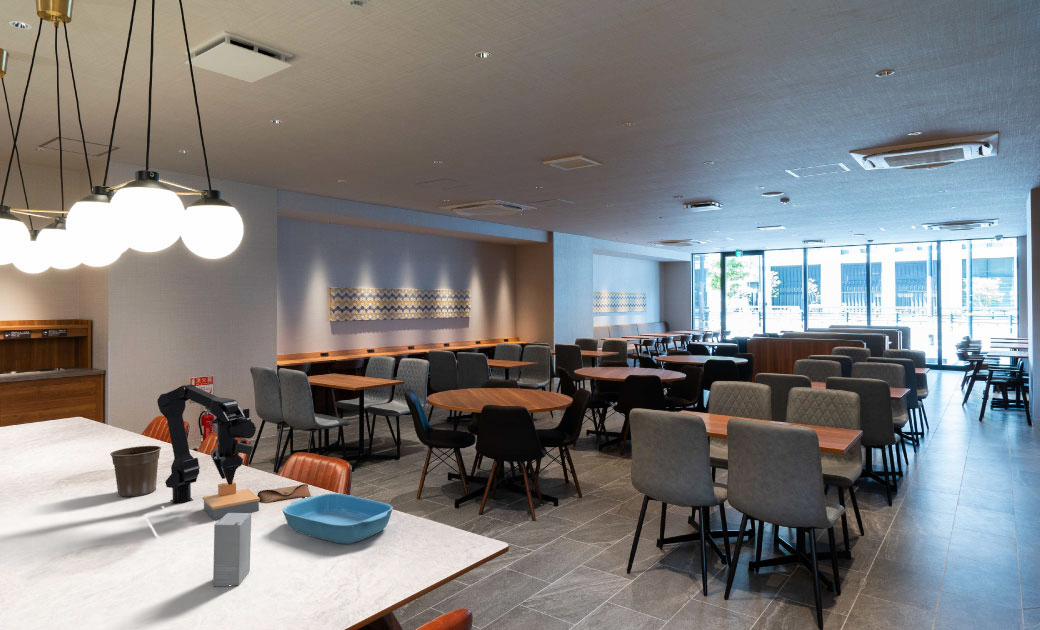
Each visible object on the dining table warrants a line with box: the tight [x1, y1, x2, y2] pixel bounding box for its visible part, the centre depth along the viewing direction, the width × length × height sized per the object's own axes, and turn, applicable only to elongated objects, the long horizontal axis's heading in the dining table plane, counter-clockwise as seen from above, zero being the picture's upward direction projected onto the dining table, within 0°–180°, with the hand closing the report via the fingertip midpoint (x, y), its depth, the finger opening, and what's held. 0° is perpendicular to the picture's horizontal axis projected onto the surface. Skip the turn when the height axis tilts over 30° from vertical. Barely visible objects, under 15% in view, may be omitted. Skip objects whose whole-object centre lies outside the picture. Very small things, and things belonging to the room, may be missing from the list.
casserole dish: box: [282, 492, 394, 545], centre depth 187 cm, size 37×22×7 cm, turn 58°
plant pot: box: [110, 445, 162, 498], centre depth 227 cm, size 16×16×16 cm
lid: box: [202, 481, 260, 510], centre depth 205 cm, size 15×15×5 cm
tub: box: [203, 500, 260, 521], centre depth 205 cm, size 14×14×4 cm
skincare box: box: [212, 512, 252, 587], centre depth 152 cm, size 8×7×16 cm
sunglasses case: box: [256, 483, 312, 504], centre depth 219 cm, size 18×7×7 cm, turn 123°
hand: (226, 481), depth 209 cm, fingers open, 9 cm apart
